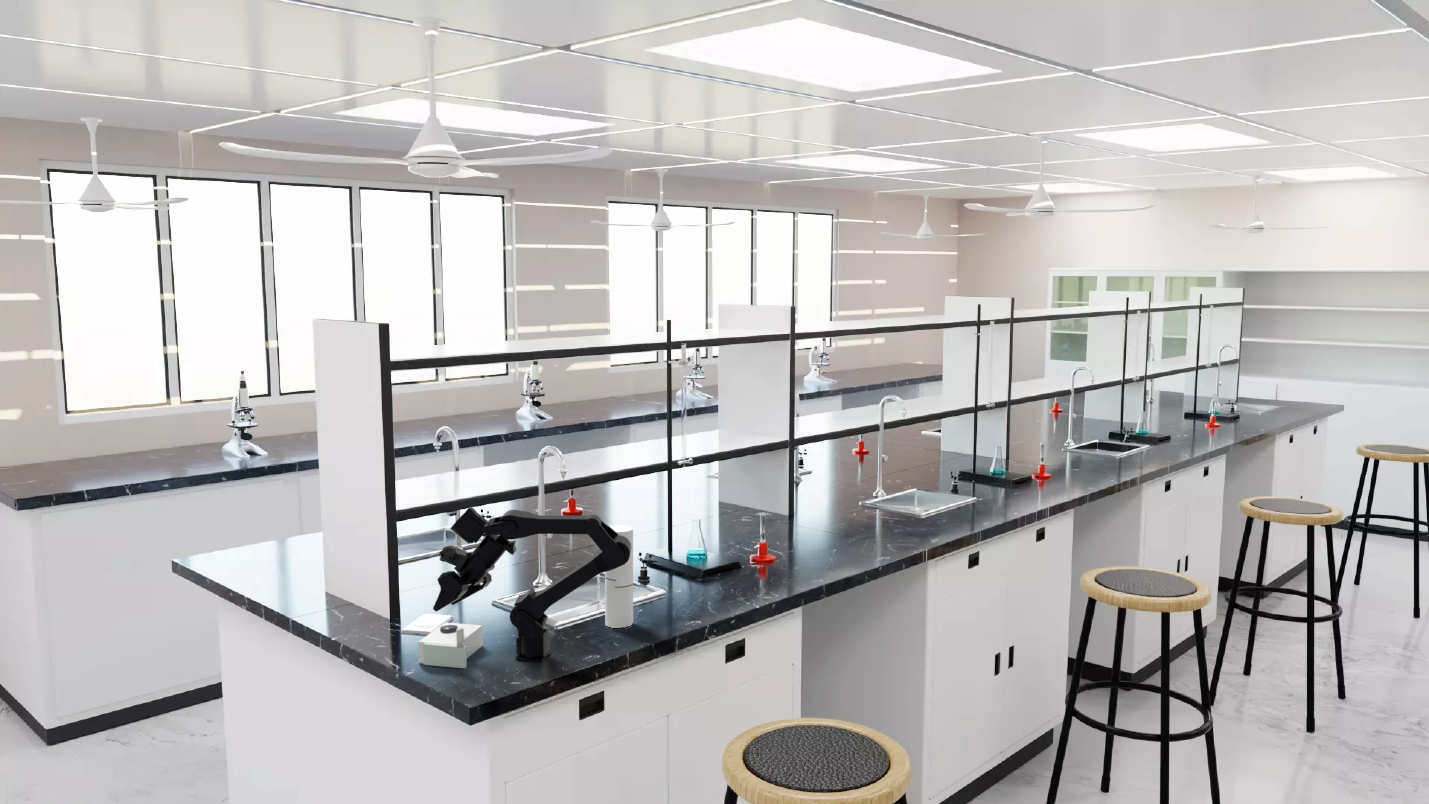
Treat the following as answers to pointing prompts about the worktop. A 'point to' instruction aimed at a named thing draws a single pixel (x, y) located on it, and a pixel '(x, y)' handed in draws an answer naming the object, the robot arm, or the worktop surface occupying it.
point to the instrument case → (453, 638)
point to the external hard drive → (426, 624)
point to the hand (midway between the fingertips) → (443, 606)
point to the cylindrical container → (620, 588)
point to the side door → (446, 653)
